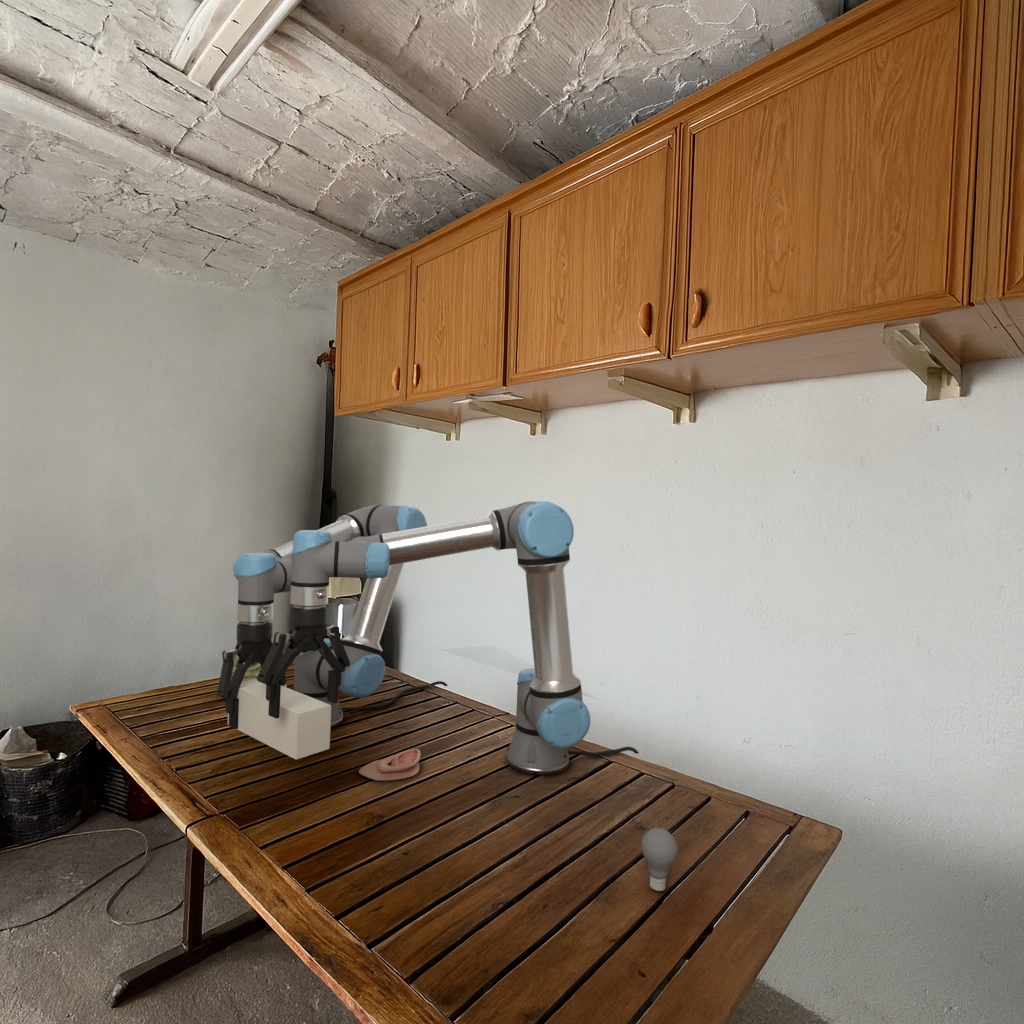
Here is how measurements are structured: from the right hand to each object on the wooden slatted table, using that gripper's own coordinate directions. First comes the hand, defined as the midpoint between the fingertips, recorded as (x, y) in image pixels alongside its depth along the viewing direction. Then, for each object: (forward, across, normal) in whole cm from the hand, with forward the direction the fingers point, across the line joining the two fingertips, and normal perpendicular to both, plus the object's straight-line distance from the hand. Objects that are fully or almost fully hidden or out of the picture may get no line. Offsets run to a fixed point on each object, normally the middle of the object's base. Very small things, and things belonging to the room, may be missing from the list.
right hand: (304, 709), depth 130 cm
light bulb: (+19, +24, -68) cm, 75 cm away
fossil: (+20, +30, +71) cm, 80 cm away
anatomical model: (+20, +23, -1) cm, 30 cm away
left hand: (+8, 0, +20) cm, 22 cm away
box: (+8, 0, +10) cm, 13 cm away
